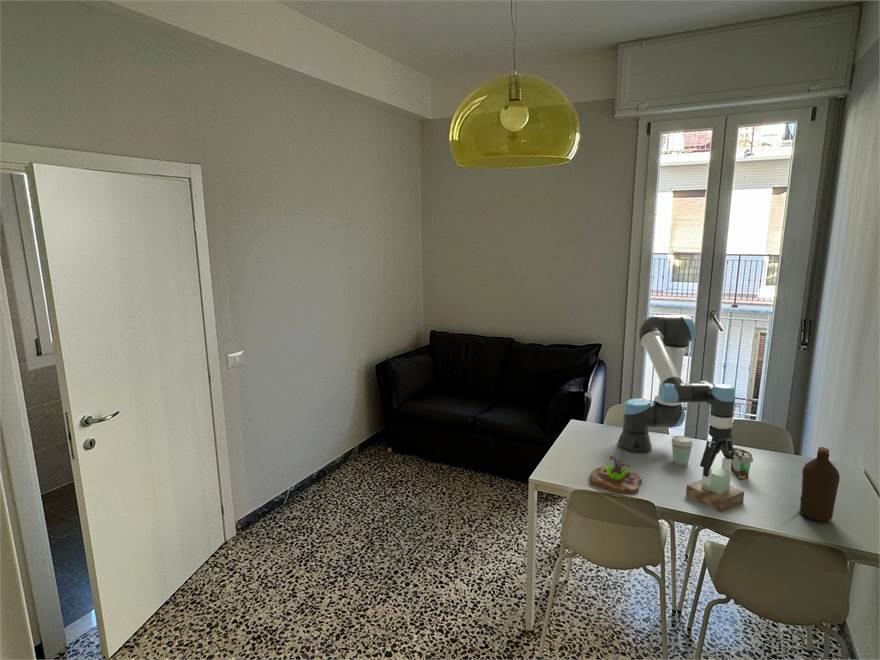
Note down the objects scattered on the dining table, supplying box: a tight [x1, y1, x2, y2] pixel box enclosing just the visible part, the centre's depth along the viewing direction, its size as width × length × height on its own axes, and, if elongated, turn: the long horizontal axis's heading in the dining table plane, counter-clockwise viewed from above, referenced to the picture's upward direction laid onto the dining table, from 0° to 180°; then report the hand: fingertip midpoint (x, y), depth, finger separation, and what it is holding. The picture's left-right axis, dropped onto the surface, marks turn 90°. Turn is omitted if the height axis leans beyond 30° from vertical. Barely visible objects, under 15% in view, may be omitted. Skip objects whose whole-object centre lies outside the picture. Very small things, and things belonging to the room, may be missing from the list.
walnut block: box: [685, 479, 745, 513], centre depth 192 cm, size 14×14×5 cm
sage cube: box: [701, 465, 732, 494], centre depth 191 cm, size 7×7×7 cm
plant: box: [589, 456, 643, 495], centre depth 206 cm, size 20×20×11 cm
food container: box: [730, 447, 754, 481], centre depth 211 cm, size 12×6×10 cm, turn 168°
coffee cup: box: [671, 435, 694, 467], centre depth 222 cm, size 8×8×12 cm
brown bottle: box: [799, 446, 840, 522], centre depth 179 cm, size 11×11×25 cm
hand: (715, 479), depth 191 cm, fingers open, 13 cm apart
